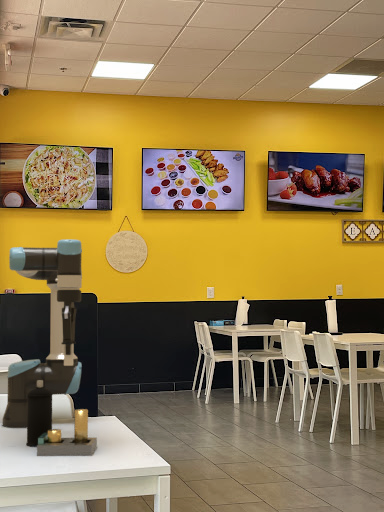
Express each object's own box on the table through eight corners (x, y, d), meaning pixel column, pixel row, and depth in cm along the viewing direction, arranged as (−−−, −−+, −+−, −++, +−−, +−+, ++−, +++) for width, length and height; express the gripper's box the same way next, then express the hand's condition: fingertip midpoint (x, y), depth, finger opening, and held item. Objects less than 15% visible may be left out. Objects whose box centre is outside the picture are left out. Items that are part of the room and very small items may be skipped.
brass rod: (75, 449, 223) (75, 409, 224) (88, 449, 223) (88, 409, 224) (73, 451, 219) (73, 411, 220) (86, 451, 219) (86, 411, 220)
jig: (44, 447, 227) (44, 427, 228) (96, 447, 227) (96, 426, 228) (36, 455, 215) (37, 434, 216) (91, 455, 215) (91, 433, 216)
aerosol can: (46, 447, 228) (47, 382, 229) (21, 446, 229) (22, 381, 230) (56, 442, 236) (57, 379, 237) (32, 441, 237) (33, 379, 238)
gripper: (60, 289, 235) (59, 363, 234) (53, 289, 222) (52, 367, 221) (83, 289, 235) (83, 363, 234) (78, 289, 222) (77, 367, 221)
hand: (68, 365), depth 228 cm, fingers closed
